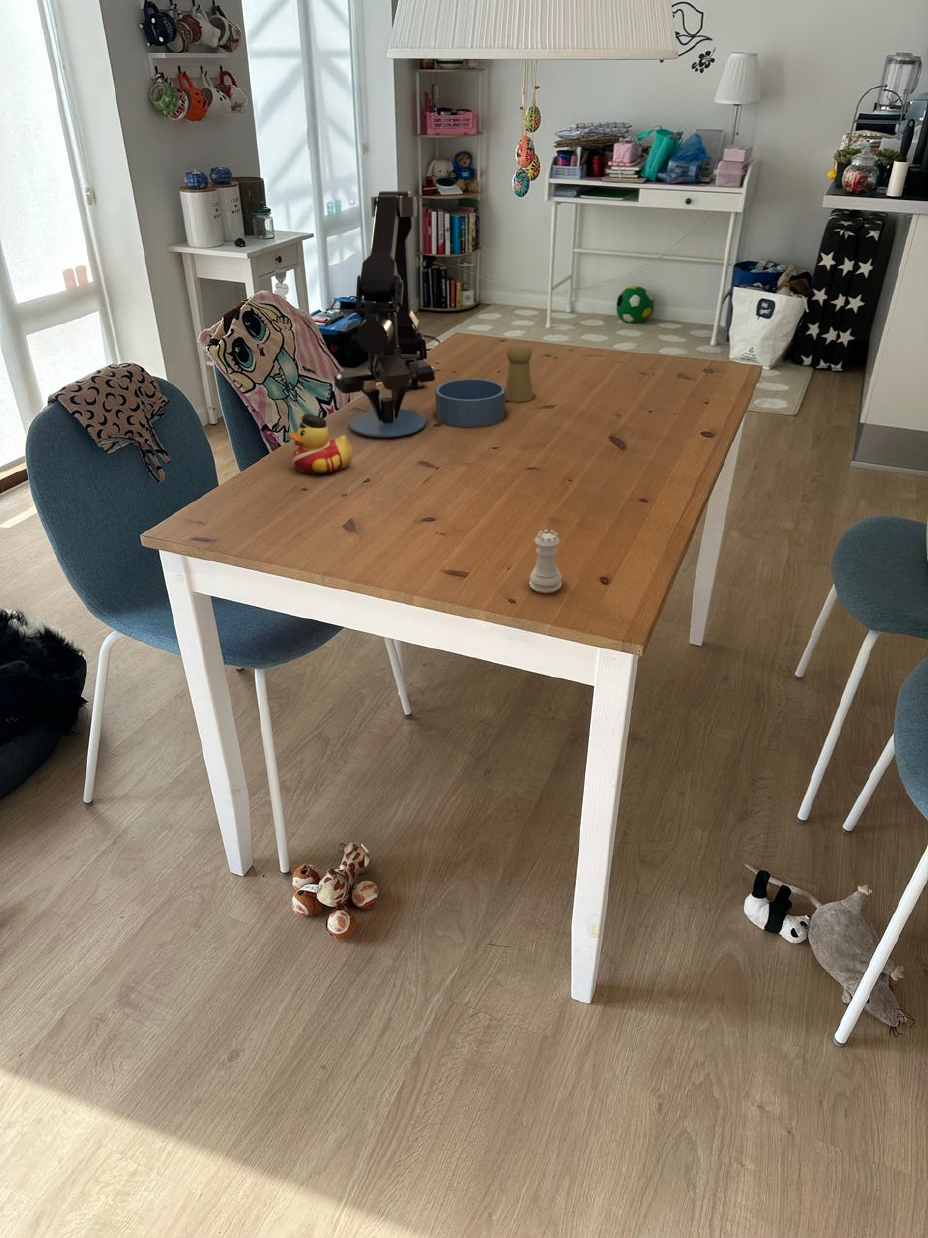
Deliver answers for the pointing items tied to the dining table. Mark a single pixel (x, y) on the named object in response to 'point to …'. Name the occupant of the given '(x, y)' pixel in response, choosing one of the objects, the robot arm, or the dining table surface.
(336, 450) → the toy
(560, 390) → the dining table surface
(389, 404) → the lid
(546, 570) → the rook chess piece
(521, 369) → the tan pawn
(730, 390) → the dining table surface
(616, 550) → the dining table surface
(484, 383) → the basin
